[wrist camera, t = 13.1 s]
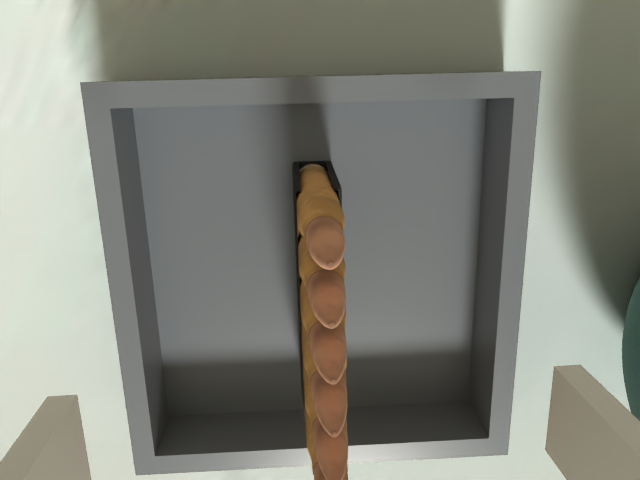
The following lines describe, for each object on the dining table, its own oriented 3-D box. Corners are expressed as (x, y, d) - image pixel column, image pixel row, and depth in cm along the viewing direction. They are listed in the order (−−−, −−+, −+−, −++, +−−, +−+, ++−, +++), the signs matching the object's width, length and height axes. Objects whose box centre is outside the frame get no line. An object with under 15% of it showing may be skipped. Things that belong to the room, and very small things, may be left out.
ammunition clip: (291, 161, 26) (293, 231, 14) (331, 159, 26) (365, 228, 14) (300, 366, 29) (307, 560, 17) (336, 365, 29) (366, 556, 18)
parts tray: (155, 424, 30) (135, 475, 26) (111, 81, 25) (80, 82, 21) (480, 407, 31) (507, 454, 27) (503, 71, 26) (541, 71, 22)
